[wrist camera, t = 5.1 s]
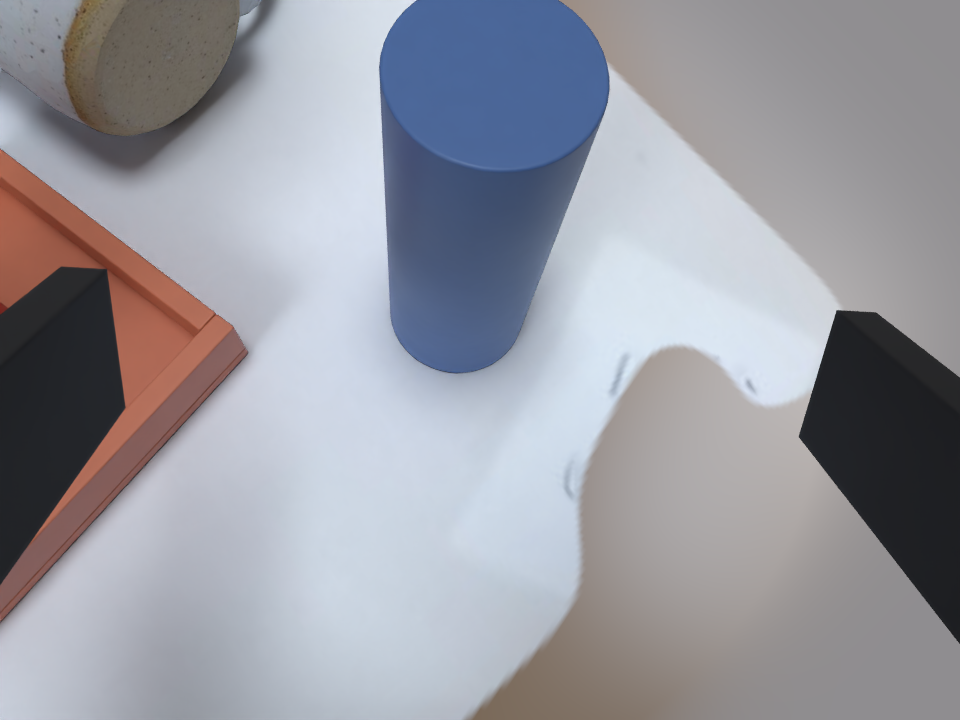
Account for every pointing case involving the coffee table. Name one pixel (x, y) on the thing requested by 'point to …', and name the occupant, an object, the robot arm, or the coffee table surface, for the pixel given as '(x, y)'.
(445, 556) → the coffee table surface
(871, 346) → the robot arm
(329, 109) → the coffee table surface
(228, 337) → the orange tray
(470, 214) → the blue peg
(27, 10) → the ceramic mug
